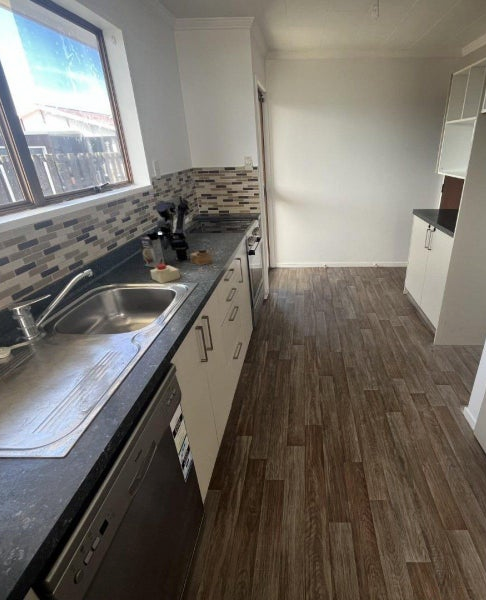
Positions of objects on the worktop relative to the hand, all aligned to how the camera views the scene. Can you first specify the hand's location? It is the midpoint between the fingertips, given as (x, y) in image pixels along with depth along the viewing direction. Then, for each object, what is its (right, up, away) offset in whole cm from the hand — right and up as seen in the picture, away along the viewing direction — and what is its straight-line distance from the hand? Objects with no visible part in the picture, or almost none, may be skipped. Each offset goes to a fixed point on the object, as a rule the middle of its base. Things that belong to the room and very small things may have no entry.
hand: (165, 249), depth 168 cm
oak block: (+12, -4, +22) cm, 25 cm away
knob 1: (+1, -11, -5) cm, 12 cm away
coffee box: (-14, -7, +18) cm, 24 cm away
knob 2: (+14, +1, +18) cm, 22 cm away
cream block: (0, -15, 0) cm, 15 cm away
